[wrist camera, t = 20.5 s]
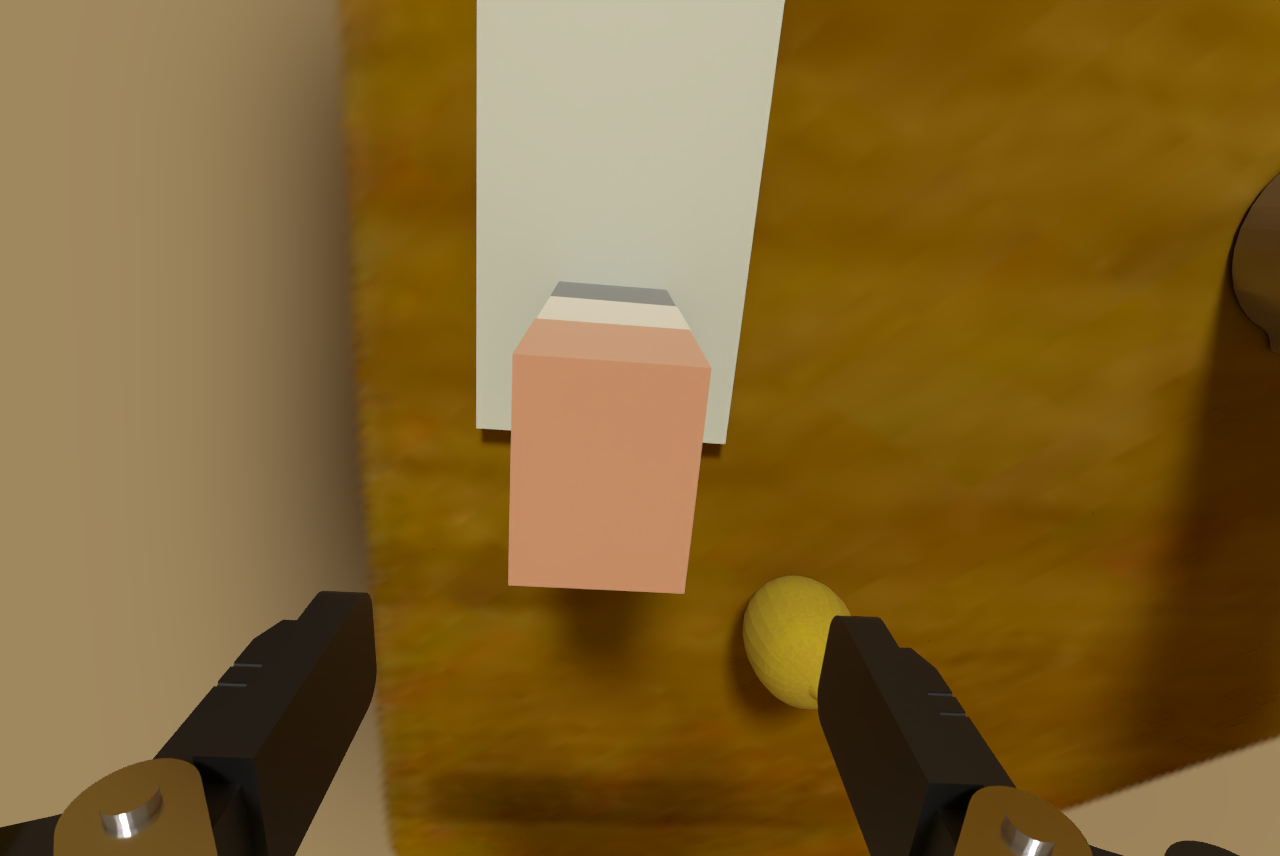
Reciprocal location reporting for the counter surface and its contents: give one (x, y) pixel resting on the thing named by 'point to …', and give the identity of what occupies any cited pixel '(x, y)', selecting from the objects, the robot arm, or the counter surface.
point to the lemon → (790, 636)
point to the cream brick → (613, 312)
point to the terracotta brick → (605, 455)
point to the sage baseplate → (619, 167)
